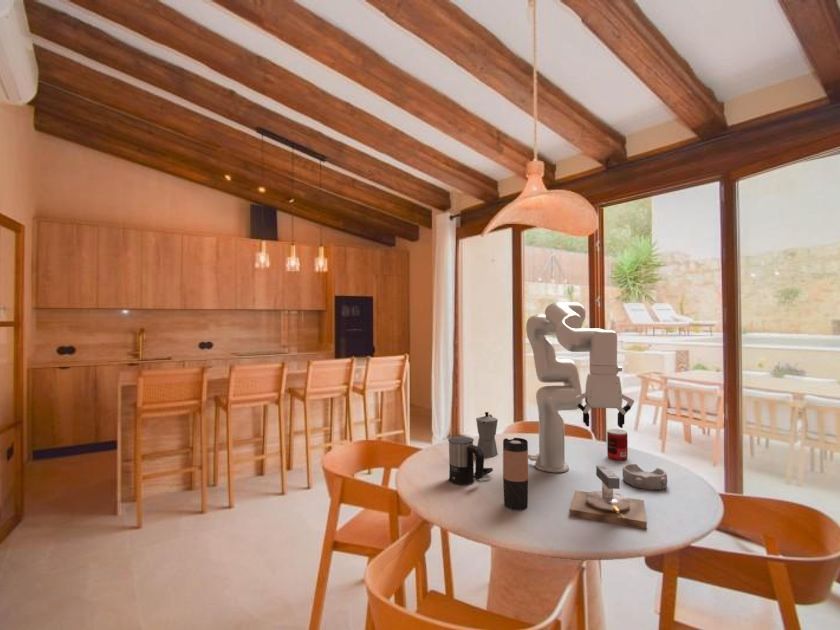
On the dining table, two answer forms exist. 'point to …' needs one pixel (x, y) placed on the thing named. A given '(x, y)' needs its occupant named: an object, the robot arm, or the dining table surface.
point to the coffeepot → (487, 434)
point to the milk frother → (465, 461)
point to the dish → (644, 477)
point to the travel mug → (515, 473)
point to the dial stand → (627, 518)
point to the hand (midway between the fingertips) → (603, 426)
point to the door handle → (608, 493)
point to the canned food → (617, 444)
